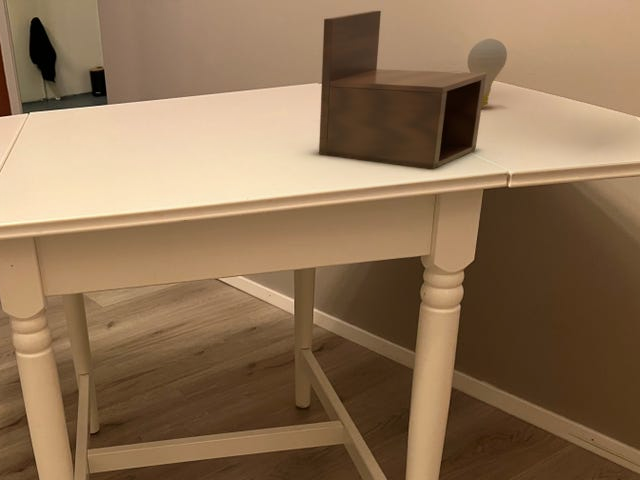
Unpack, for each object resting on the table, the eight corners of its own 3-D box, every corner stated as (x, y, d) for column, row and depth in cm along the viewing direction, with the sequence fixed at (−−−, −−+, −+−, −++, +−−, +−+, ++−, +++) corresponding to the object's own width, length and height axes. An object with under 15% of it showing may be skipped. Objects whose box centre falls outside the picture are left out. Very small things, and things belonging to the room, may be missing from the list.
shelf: (475, 149, 89) (496, 8, 81) (433, 169, 82) (451, 17, 74) (364, 137, 99) (372, 10, 91) (318, 154, 92) (323, 18, 85)
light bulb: (462, 111, 110) (471, 41, 105) (460, 105, 115) (469, 37, 110) (500, 110, 108) (511, 39, 104) (497, 104, 113) (507, 36, 108)
